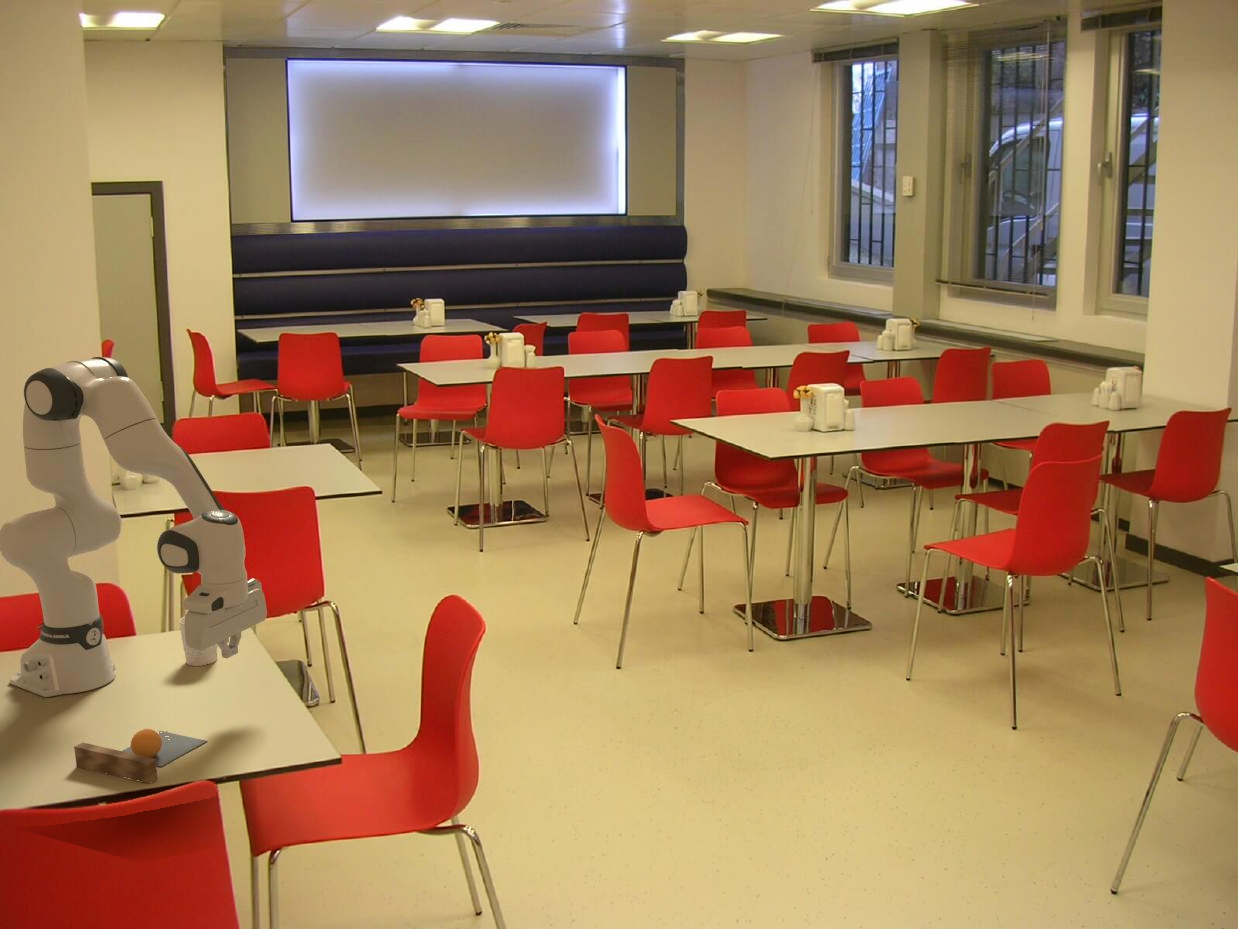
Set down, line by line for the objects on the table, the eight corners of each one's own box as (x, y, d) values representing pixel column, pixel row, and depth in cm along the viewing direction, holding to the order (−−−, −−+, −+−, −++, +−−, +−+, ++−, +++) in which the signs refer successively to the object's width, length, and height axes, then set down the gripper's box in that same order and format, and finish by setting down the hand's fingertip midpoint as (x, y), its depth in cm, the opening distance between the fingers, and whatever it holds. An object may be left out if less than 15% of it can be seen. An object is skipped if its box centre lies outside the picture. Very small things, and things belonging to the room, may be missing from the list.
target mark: (113, 756, 250) (113, 755, 250) (160, 731, 260) (160, 730, 260) (161, 767, 244) (161, 766, 244) (207, 741, 255) (207, 740, 255)
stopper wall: (76, 766, 246) (74, 746, 245) (85, 762, 247) (82, 742, 247) (149, 784, 238) (146, 763, 237) (157, 779, 240) (155, 758, 239)
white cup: (209, 668, 293) (205, 625, 291) (176, 666, 295) (172, 623, 292) (226, 655, 301) (222, 613, 298) (194, 653, 302) (190, 612, 300)
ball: (138, 721, 250) (148, 743, 253) (120, 742, 246) (131, 763, 248) (161, 724, 248) (172, 745, 251) (143, 744, 244) (154, 766, 246)
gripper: (247, 573, 276) (252, 636, 279) (176, 604, 258) (182, 670, 261) (271, 578, 273) (276, 641, 276) (201, 609, 255) (207, 676, 259)
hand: (230, 655), depth 269 cm, fingers closed
